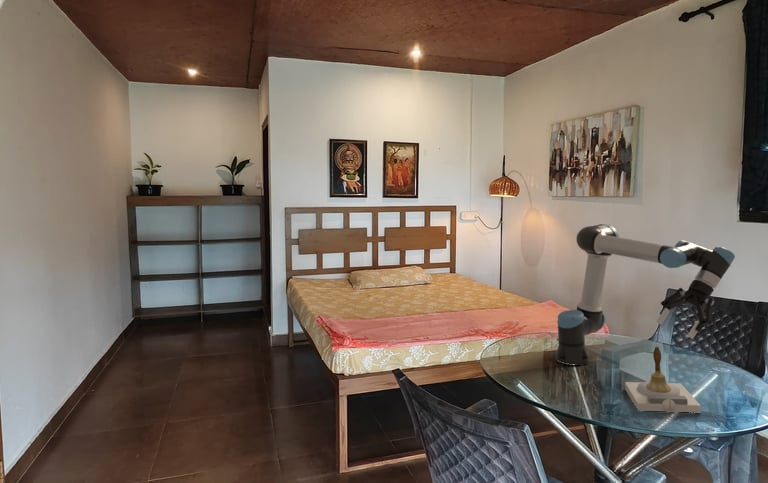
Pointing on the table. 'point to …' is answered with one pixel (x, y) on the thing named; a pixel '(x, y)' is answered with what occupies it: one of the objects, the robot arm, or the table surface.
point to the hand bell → (658, 376)
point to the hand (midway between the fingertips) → (673, 330)
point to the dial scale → (662, 398)
